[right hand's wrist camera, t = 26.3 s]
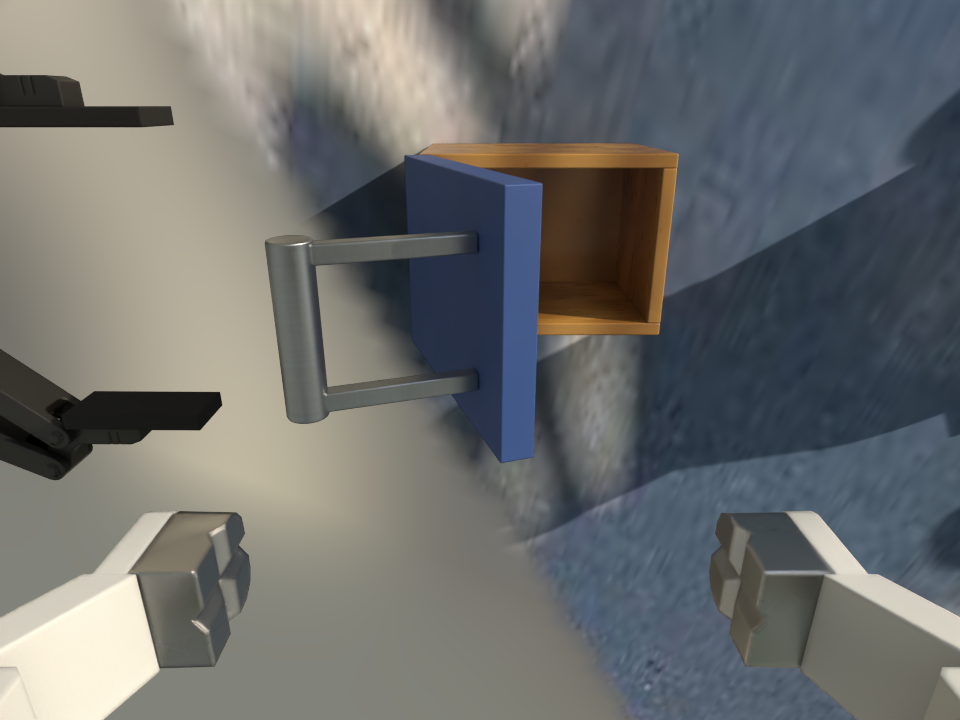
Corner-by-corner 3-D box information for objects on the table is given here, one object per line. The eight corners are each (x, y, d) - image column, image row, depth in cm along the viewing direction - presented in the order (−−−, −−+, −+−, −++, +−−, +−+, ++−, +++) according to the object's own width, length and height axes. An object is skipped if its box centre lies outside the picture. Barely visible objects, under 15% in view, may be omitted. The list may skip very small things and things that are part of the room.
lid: (543, 182, 19) (259, 194, 17) (533, 457, 23) (298, 501, 20) (429, 154, 31) (252, 158, 29) (435, 338, 35) (278, 356, 32)
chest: (634, 143, 41) (679, 153, 32) (622, 288, 44) (659, 335, 35) (432, 143, 41) (418, 153, 32) (436, 288, 44) (424, 335, 35)
